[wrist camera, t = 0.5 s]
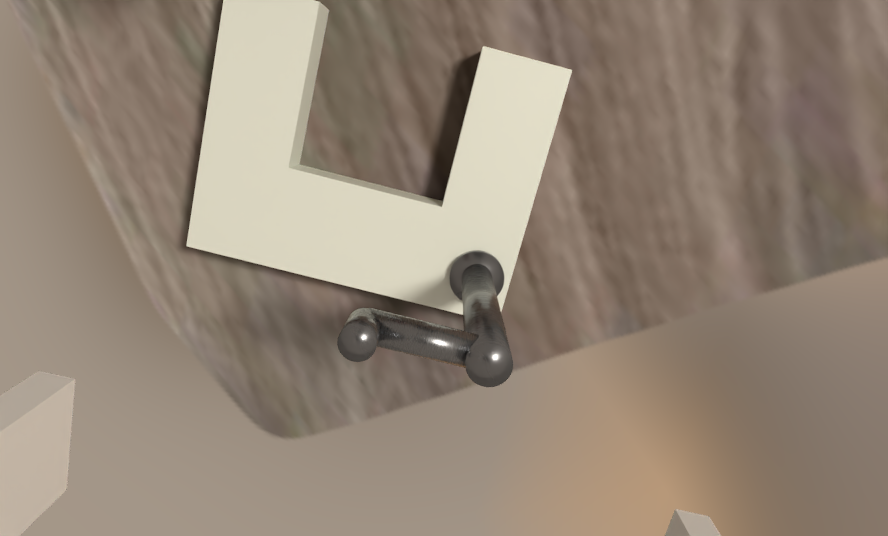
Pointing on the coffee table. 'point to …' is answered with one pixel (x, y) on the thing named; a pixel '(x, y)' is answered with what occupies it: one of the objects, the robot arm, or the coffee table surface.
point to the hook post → (473, 348)
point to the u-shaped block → (351, 200)
